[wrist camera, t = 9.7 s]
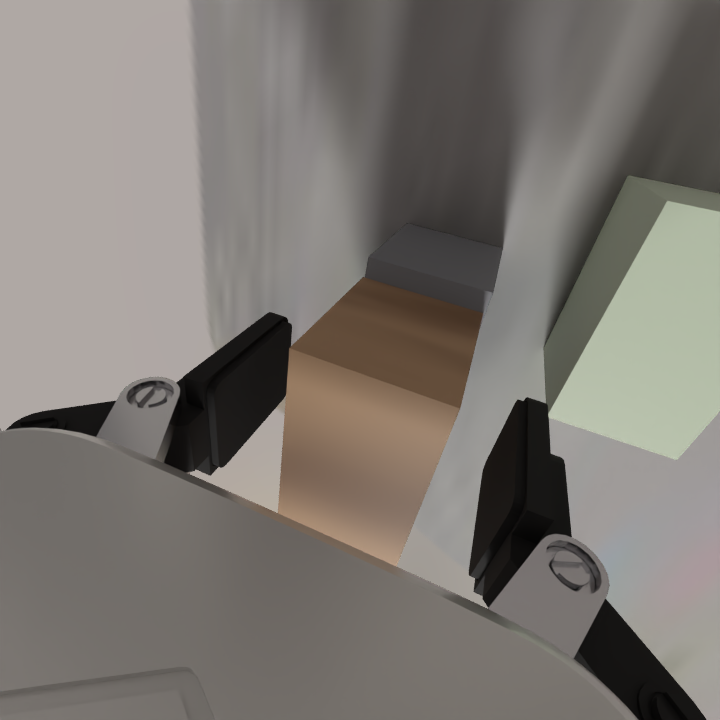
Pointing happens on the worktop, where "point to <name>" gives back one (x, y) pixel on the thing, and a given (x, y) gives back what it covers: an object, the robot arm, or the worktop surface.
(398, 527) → the walnut brick
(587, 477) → the worktop surface
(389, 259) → the charcoal brick
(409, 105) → the worktop surface
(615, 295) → the sage brick
